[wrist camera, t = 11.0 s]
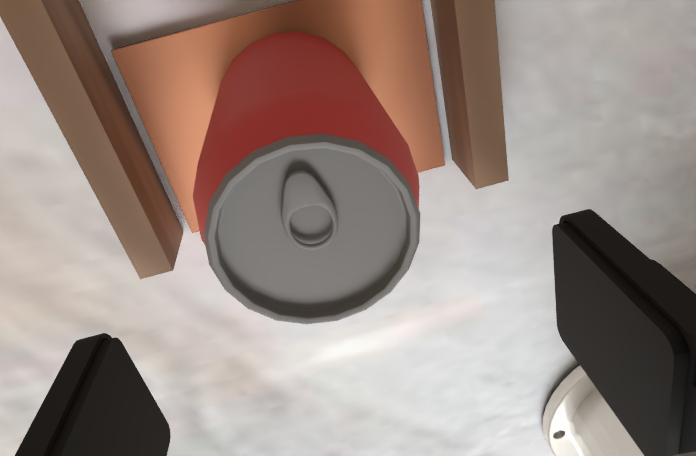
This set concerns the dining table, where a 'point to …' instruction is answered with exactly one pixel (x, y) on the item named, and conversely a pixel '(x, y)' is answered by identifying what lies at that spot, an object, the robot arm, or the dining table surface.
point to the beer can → (304, 184)
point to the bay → (204, 81)
